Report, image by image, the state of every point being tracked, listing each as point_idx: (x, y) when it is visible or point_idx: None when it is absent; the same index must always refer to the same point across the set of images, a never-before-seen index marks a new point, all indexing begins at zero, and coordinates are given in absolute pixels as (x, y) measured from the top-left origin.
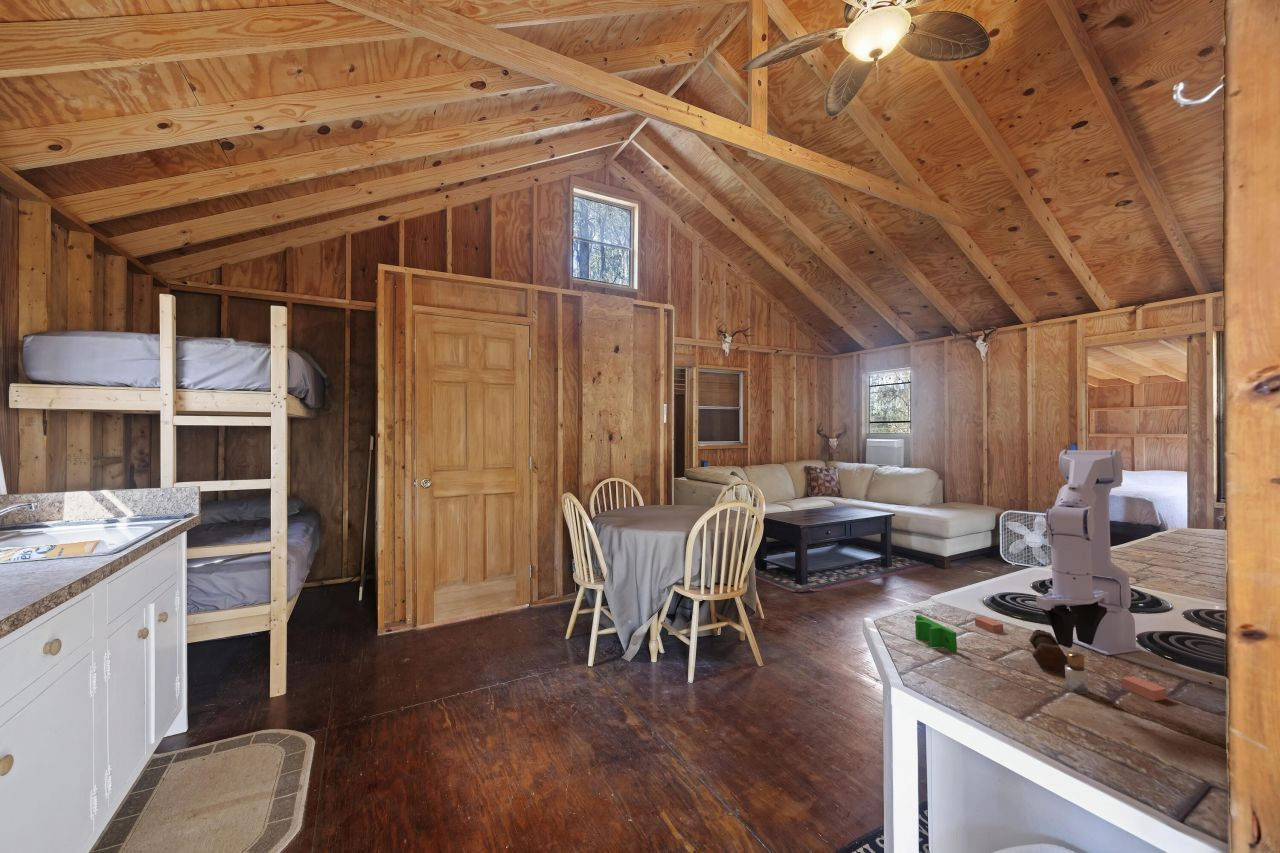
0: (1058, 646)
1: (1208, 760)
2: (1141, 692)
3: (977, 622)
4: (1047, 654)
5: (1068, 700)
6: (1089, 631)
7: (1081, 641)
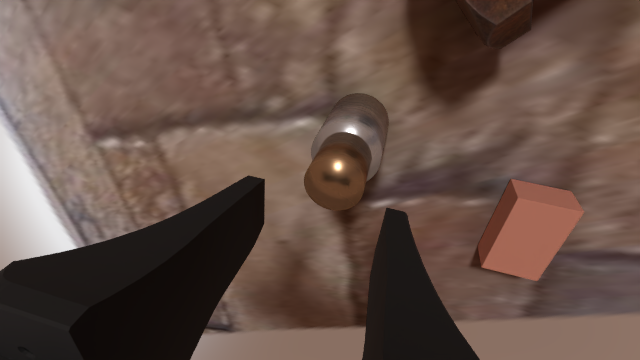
0: (513, 10)
1: (291, 325)
2: (490, 230)
3: None
4: None
5: (268, 143)
6: (368, 310)
7: (382, 223)
